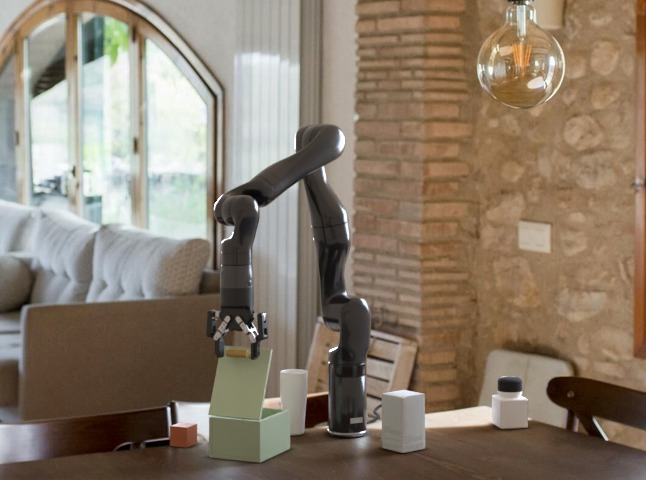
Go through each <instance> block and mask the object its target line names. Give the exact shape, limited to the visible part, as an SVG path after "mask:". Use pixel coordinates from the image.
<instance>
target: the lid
mask: <svg viewBox="0 0 646 480" xmlns="http://www.w3.org/2000/svg"><path fill="white" fill-rule="evenodd" d="M273 351H274V350H273V349H272V348H264V347H260V356H259V357H258V359H256V360H251V346H250V347H249V346H235V345H224V357H222V358H218V359H217V366H216V371H215V375H214V382H213V387H212V393H211V398H210V403H209V409H208V416H223V417H234V418H245V419H255V420H261V416H262V410H263V407H264V402H265V397H266V392H267V386H268V380H269V374H270V369H271V361H272V357H273Z"/></svg>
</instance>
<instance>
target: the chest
mask: <svg viewBox="0 0 646 480" xmlns="http://www.w3.org/2000/svg"><path fill="white" fill-rule="evenodd" d="M290 449H291V435H290V410H288V409H281V408H277V407H265V406H263V410H262V416H261V420H255V419H245V418H234V417H223V416H212V415H210V416H209V417H208V458H212V459H222V460H230V461H239V462H240V461H241V462H247V463H248V462H249V463H257V464H260V463H262V462H265V461H267V460H269V459H271V458H273V457H275V456H278V455H280V454H282V453H285V452H287V451H289V450H290Z"/></svg>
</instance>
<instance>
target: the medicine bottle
mask: <svg viewBox="0 0 646 480" xmlns="http://www.w3.org/2000/svg"><path fill="white" fill-rule="evenodd" d="M491 423H492V424H493V425H494V426H496V427H497V428H499V429H501V430H512V429H528V428H529V399H528V398H527V397H524V396H523V380H522V378H520V377H518V376H513V375H505V376H500V377H499V378H498V379H497V394H492V395H491Z"/></svg>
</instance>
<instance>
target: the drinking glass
mask: <svg viewBox="0 0 646 480" xmlns="http://www.w3.org/2000/svg"><path fill="white" fill-rule="evenodd" d="M308 376H309V375H308V370H306V369H300V368H289V369H287V368H286V369H283V370H280V371H279V396H280V397H279V398H280V409H288V410H290V437H291V436H292V437H293V436H294V437H296V436H301V435H303V434H305V430H306V413H307V401H308V389H309V388H308V386H309V385H308V384H309V377H308Z"/></svg>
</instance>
